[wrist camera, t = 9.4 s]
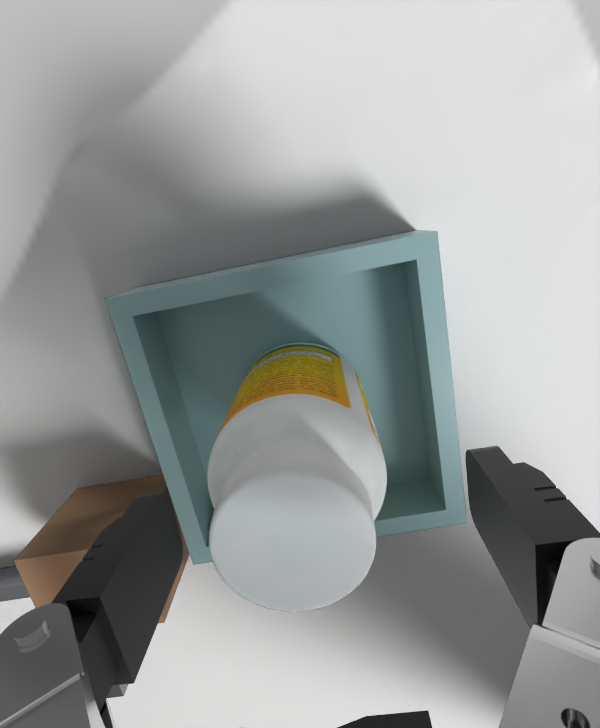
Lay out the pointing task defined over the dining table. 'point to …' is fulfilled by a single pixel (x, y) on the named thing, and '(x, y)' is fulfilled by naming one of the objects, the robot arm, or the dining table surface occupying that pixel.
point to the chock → (83, 536)
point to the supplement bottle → (296, 481)
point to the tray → (311, 325)
